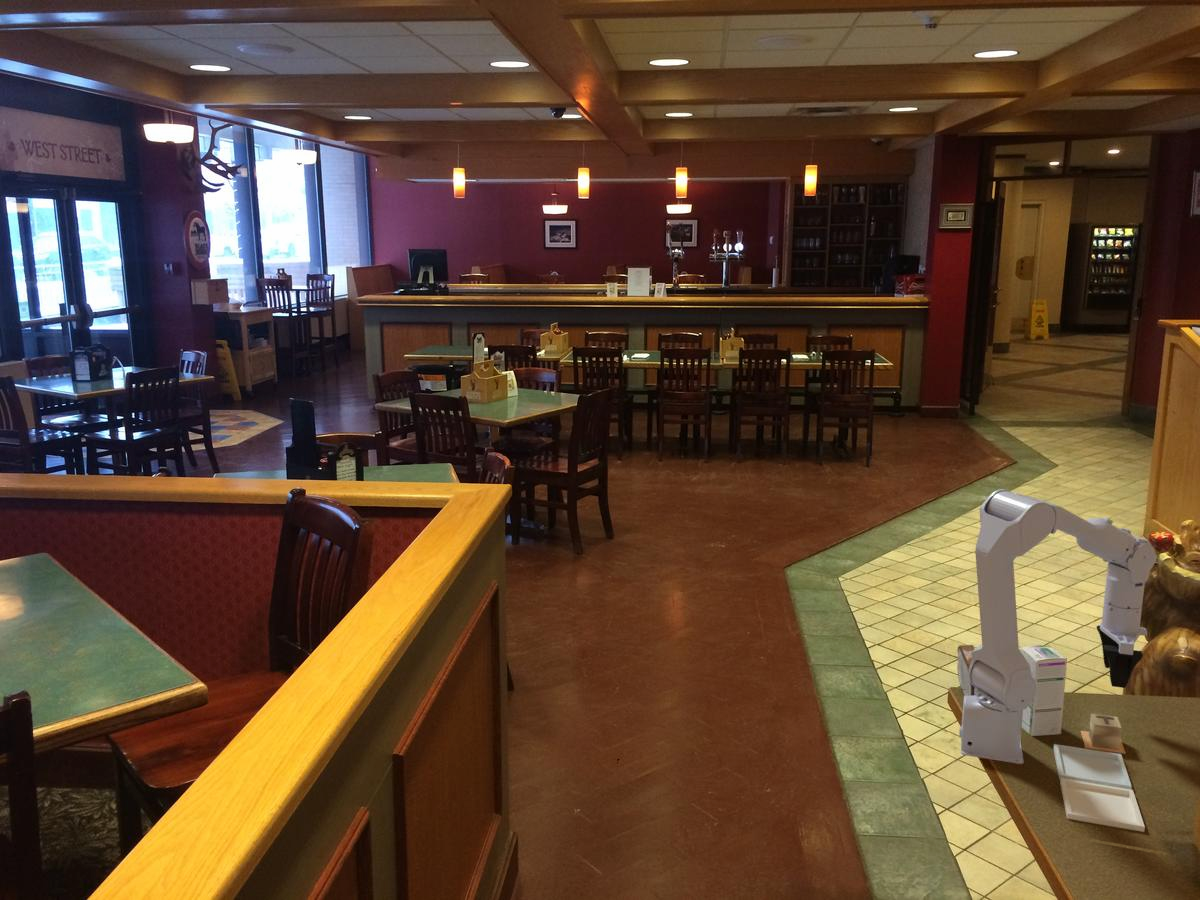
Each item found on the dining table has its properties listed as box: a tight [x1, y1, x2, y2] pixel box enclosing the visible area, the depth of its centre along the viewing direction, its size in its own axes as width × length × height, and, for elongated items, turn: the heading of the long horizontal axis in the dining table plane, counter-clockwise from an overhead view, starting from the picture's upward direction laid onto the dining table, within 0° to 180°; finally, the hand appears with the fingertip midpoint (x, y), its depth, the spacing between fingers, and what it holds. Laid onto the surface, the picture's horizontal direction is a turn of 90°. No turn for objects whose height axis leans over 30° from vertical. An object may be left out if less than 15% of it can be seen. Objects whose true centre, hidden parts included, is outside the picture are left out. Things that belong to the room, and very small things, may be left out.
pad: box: [1080, 730, 1126, 755], centre depth 159 cm, size 6×6×1 cm
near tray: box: [1059, 778, 1146, 833], centre depth 141 cm, size 10×10×1 cm
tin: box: [957, 644, 976, 697], centre depth 177 cm, size 15×3×8 cm, turn 168°
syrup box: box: [1019, 644, 1068, 737], centre depth 163 cm, size 6×6×14 cm
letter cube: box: [1088, 712, 1122, 750], centre depth 159 cm, size 4×4×4 cm
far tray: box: [1053, 743, 1132, 790], centre depth 151 cm, size 10×10×1 cm
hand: (1114, 676), depth 163 cm, fingers open, 7 cm apart
